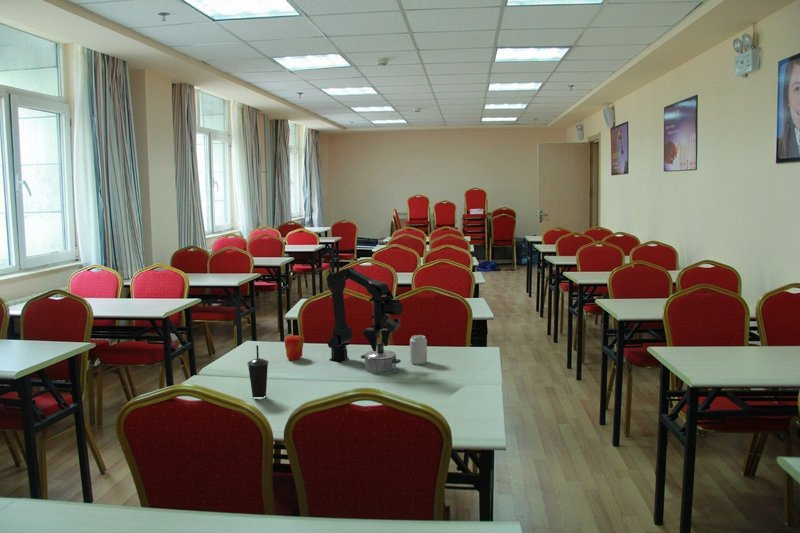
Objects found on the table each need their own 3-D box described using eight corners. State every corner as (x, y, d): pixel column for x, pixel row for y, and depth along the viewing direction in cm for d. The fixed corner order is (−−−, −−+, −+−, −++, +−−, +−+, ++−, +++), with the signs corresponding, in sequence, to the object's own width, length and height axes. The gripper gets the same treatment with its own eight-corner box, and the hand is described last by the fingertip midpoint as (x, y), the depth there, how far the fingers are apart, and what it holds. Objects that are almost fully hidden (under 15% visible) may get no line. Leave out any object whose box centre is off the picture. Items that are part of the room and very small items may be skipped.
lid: (360, 357, 269) (359, 344, 268) (375, 350, 280) (375, 338, 279) (385, 361, 263) (385, 348, 262) (400, 353, 274) (400, 341, 273)
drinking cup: (250, 394, 241) (248, 343, 238) (270, 394, 242) (269, 342, 239) (247, 401, 234) (245, 348, 231) (268, 400, 234) (266, 347, 232)
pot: (354, 370, 271) (354, 356, 270) (370, 362, 282) (370, 349, 282) (391, 376, 262) (391, 362, 262) (406, 367, 274) (406, 354, 273)
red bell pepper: (294, 362, 284) (293, 336, 282) (280, 359, 288) (280, 334, 287) (307, 357, 291) (307, 332, 289) (294, 355, 295) (293, 330, 294)
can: (425, 365, 277) (425, 338, 276) (408, 364, 279) (408, 338, 277) (428, 360, 284) (428, 334, 283) (411, 360, 286) (411, 333, 284)
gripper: (385, 318, 257) (385, 356, 259) (407, 310, 273) (407, 345, 276) (362, 316, 262) (362, 353, 265) (384, 308, 279) (384, 342, 281)
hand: (380, 348), depth 271 cm, fingers open, 9 cm apart
